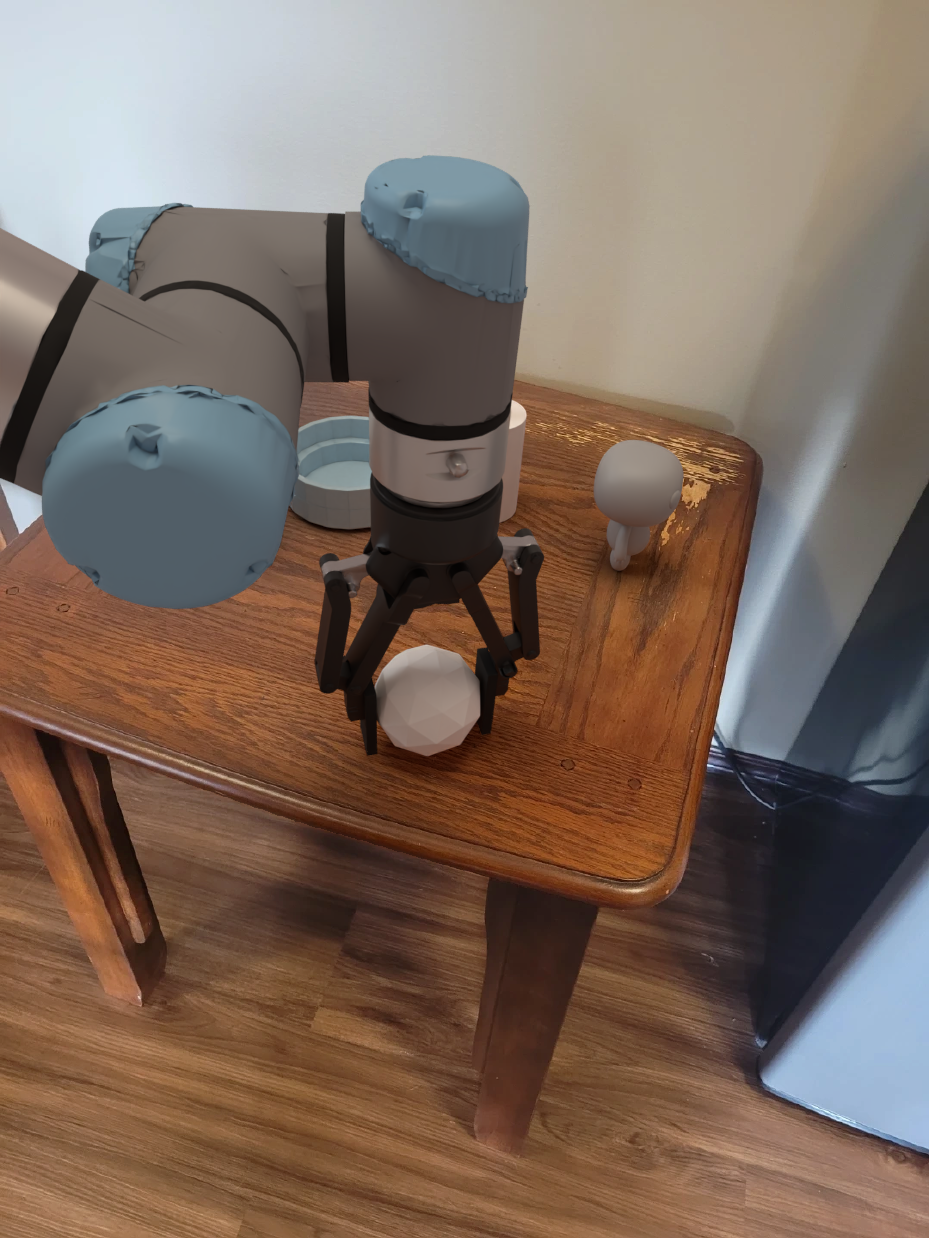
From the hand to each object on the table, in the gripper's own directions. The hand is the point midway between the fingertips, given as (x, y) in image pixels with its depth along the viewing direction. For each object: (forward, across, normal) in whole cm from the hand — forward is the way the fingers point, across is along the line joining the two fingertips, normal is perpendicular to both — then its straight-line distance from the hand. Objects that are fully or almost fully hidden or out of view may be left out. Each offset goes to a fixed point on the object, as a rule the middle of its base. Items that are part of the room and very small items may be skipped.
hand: (425, 730), depth 63 cm
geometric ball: (+1, 0, 0) cm, 1 cm away
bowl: (+1, 0, +32) cm, 32 cm away
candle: (+1, +13, +28) cm, 31 cm away
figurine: (+1, +23, +16) cm, 28 cm away
